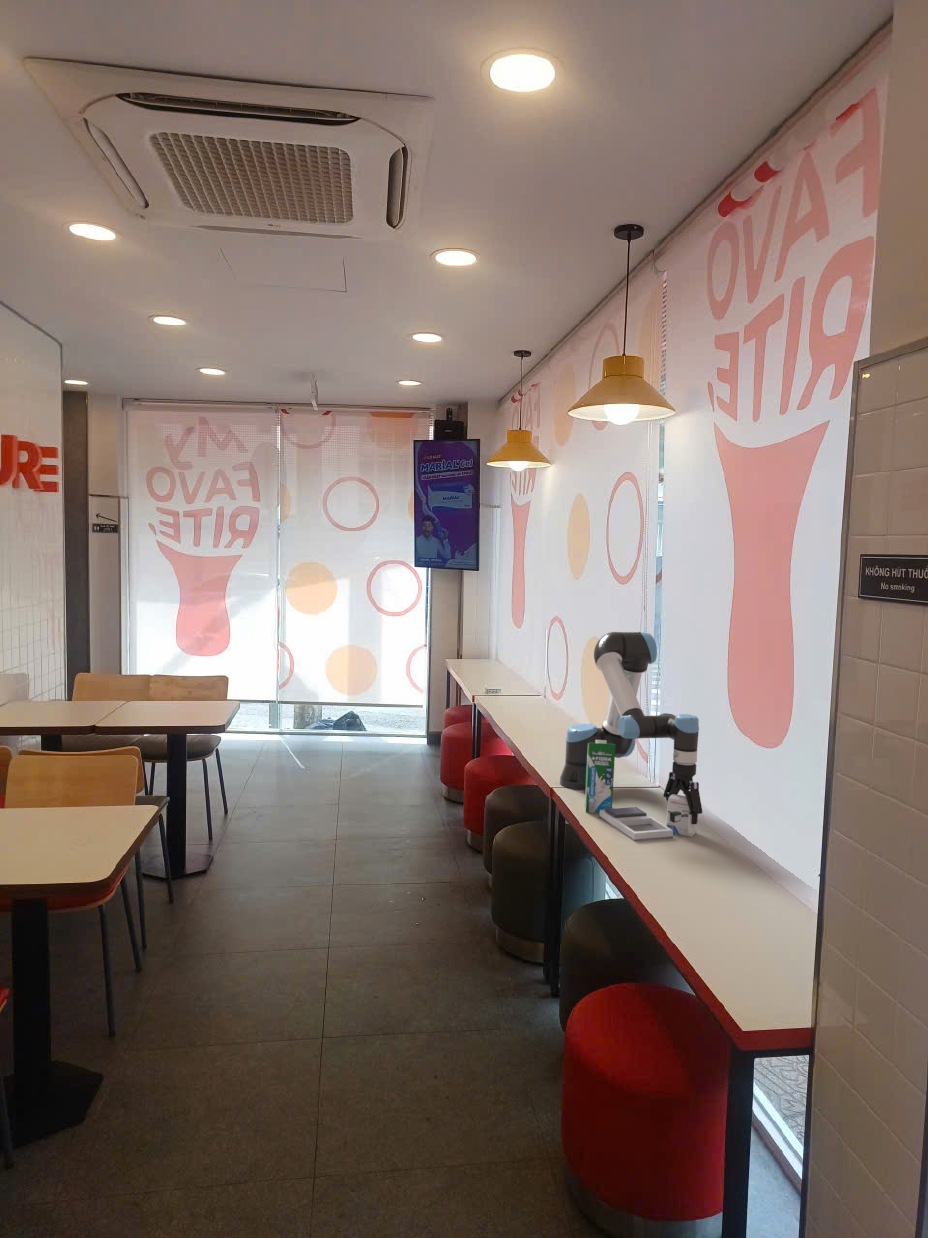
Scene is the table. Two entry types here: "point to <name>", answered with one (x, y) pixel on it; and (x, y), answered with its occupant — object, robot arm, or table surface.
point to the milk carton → (599, 776)
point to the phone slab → (625, 812)
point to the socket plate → (638, 827)
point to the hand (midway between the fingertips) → (680, 826)
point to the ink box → (678, 815)
